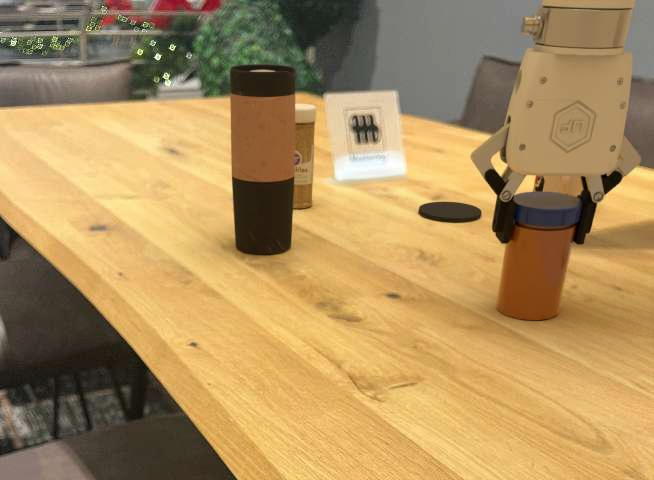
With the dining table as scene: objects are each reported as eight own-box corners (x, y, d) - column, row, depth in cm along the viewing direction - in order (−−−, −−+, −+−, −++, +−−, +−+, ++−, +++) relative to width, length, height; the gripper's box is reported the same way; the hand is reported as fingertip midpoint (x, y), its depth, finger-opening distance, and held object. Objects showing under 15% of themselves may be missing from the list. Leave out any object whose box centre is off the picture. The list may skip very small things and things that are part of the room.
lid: (517, 227, 73) (520, 210, 72) (501, 208, 78) (503, 192, 77) (589, 226, 73) (592, 208, 72) (567, 207, 78) (570, 190, 77)
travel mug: (224, 242, 99) (218, 65, 87) (276, 234, 102) (277, 62, 90) (249, 259, 93) (246, 73, 82) (303, 250, 96) (308, 70, 85)
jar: (548, 297, 83) (567, 197, 77) (566, 319, 78) (589, 215, 72) (489, 298, 83) (504, 199, 77) (504, 320, 78) (521, 216, 72)
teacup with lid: (531, 196, 119) (547, 114, 113) (592, 202, 117) (612, 118, 110) (524, 216, 110) (541, 127, 103) (590, 222, 108) (612, 132, 101)
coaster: (473, 205, 115) (474, 201, 114) (487, 222, 107) (488, 218, 107) (414, 205, 115) (414, 201, 114) (423, 222, 107) (424, 217, 107)
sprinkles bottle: (281, 208, 112) (282, 107, 104) (284, 200, 116) (285, 102, 108) (312, 209, 112) (315, 108, 104) (314, 201, 116) (317, 103, 108)
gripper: (491, 34, 63) (459, 251, 73) (700, 37, 63) (638, 253, 74) (472, 28, 69) (445, 228, 80) (662, 30, 69) (610, 230, 80)
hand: (538, 238), depth 77 cm, fingers closed on lid, 6 cm apart
